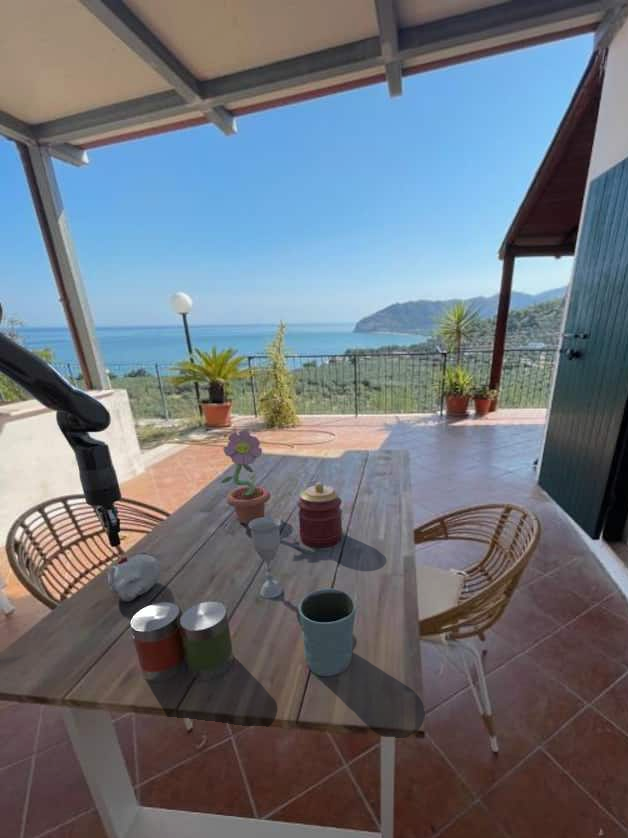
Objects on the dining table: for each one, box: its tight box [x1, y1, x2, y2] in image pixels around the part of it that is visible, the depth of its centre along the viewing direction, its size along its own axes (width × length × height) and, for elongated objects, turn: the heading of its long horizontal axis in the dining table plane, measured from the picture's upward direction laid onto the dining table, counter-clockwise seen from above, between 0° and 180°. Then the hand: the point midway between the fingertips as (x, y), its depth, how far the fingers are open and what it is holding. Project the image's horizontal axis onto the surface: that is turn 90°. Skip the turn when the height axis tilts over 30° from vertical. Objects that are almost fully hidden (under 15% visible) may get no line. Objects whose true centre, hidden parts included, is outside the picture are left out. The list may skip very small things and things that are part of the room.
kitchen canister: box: [297, 482, 343, 548], centre depth 115 cm, size 13×13×18 cm
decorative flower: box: [220, 430, 271, 525], centre depth 125 cm, size 15×14×30 cm
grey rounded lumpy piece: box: [107, 552, 160, 602], centre depth 93 cm, size 9×11×15 cm
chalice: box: [247, 516, 283, 599], centre depth 90 cm, size 7×7×18 cm
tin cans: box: [130, 601, 234, 683], centre depth 70 cm, size 16×8×11 cm, turn 91°
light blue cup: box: [298, 588, 357, 677], centre depth 71 cm, size 10×10×12 cm
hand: (115, 545), depth 102 cm, fingers closed
